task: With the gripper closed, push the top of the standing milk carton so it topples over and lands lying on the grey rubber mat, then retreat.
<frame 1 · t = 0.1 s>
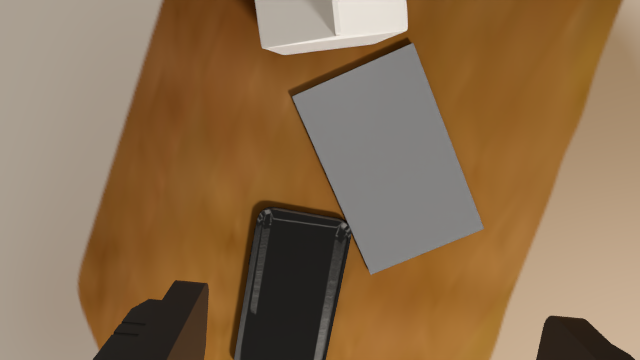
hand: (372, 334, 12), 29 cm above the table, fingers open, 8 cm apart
milk carton: (323, 1, 38), on the table
mat: (390, 163, 41), on the table
phone: (291, 293, 44), on the table
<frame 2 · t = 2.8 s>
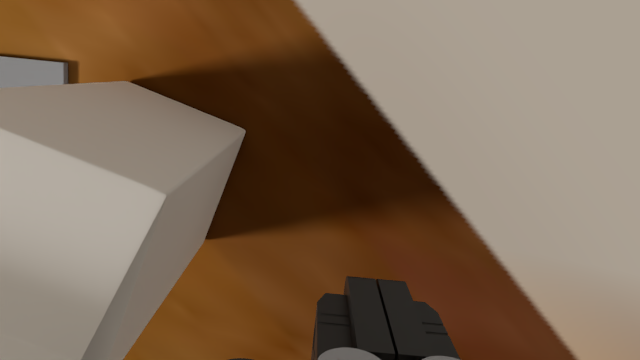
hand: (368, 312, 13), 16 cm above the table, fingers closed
milk carton: (167, 162, 29), on the table
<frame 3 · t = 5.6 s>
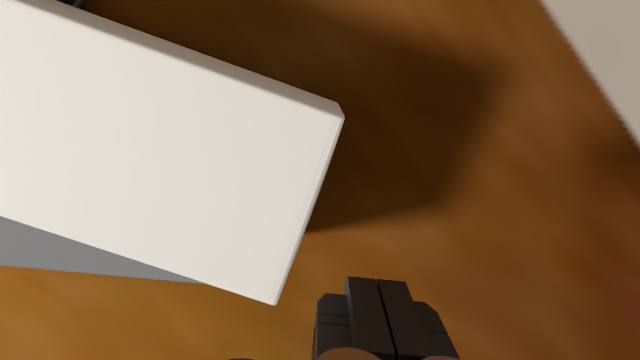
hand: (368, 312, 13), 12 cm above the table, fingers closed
milk carton: (319, 194, 21), point 4 cm above the table, touching mat
mat: (106, 174, 25), on the table
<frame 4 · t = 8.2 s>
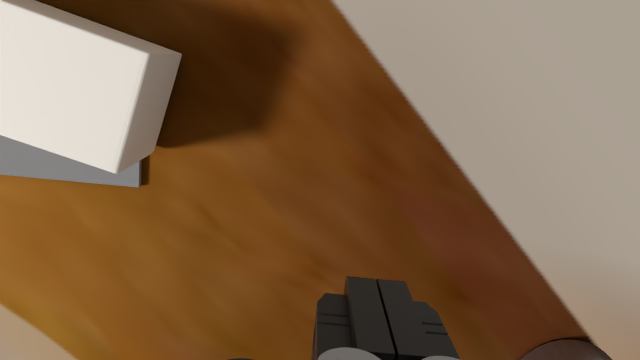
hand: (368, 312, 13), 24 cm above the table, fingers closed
milk carton: (158, 111, 31), point 4 cm above the table, touching mat
mat: (25, 104, 35), on the table
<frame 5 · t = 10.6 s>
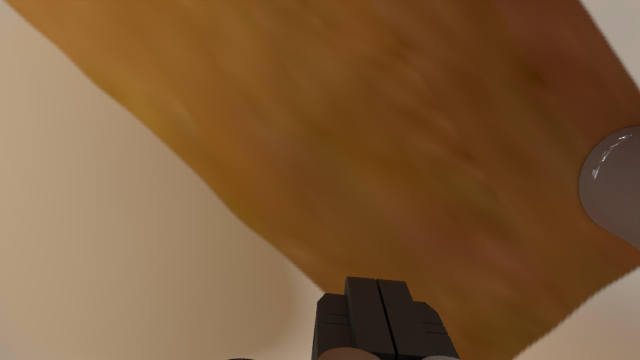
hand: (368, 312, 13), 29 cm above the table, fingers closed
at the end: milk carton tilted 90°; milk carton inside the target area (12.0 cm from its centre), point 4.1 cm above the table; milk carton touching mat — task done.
